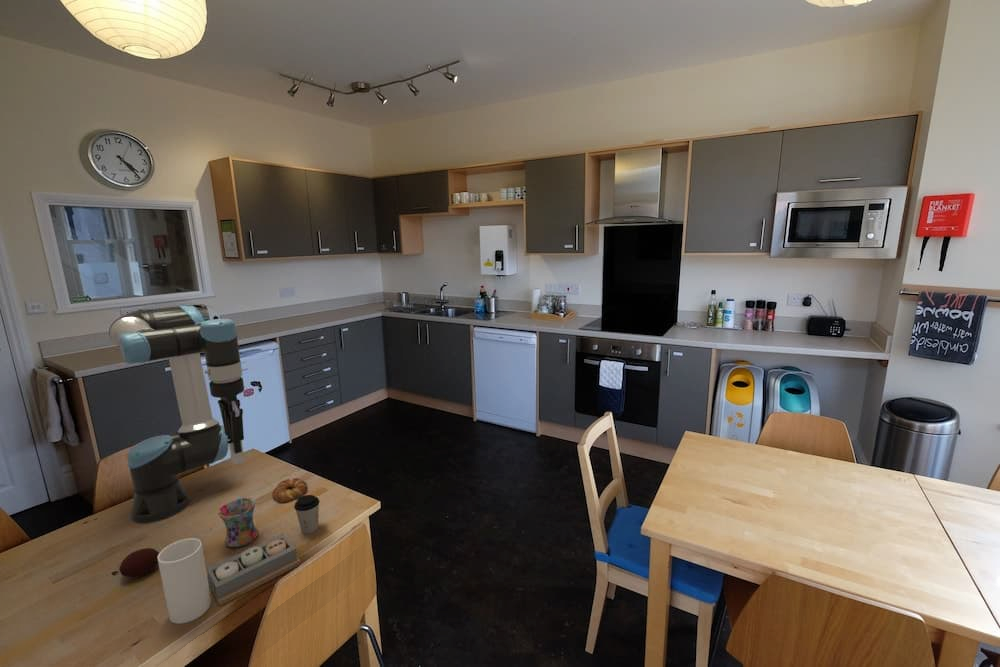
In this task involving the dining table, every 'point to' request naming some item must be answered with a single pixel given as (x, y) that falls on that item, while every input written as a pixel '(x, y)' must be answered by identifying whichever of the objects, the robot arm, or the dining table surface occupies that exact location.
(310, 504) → the coffee cup
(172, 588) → the cup
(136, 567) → the potato
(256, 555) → the button
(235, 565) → the button
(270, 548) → the button
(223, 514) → the mug
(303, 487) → the bagel
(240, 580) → the console
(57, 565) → the dining table surface
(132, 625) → the dining table surface
